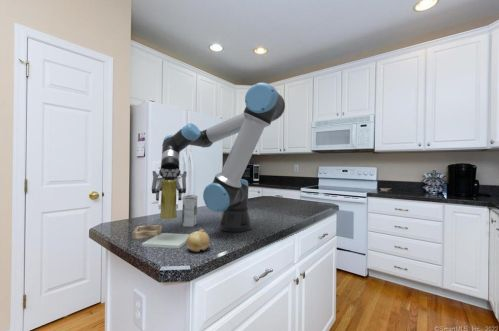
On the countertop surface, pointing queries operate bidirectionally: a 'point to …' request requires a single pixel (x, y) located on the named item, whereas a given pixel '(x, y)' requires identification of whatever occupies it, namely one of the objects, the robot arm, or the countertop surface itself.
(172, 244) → the tile
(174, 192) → the vase
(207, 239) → the onion
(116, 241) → the countertop surface
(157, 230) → the collar
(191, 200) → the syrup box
